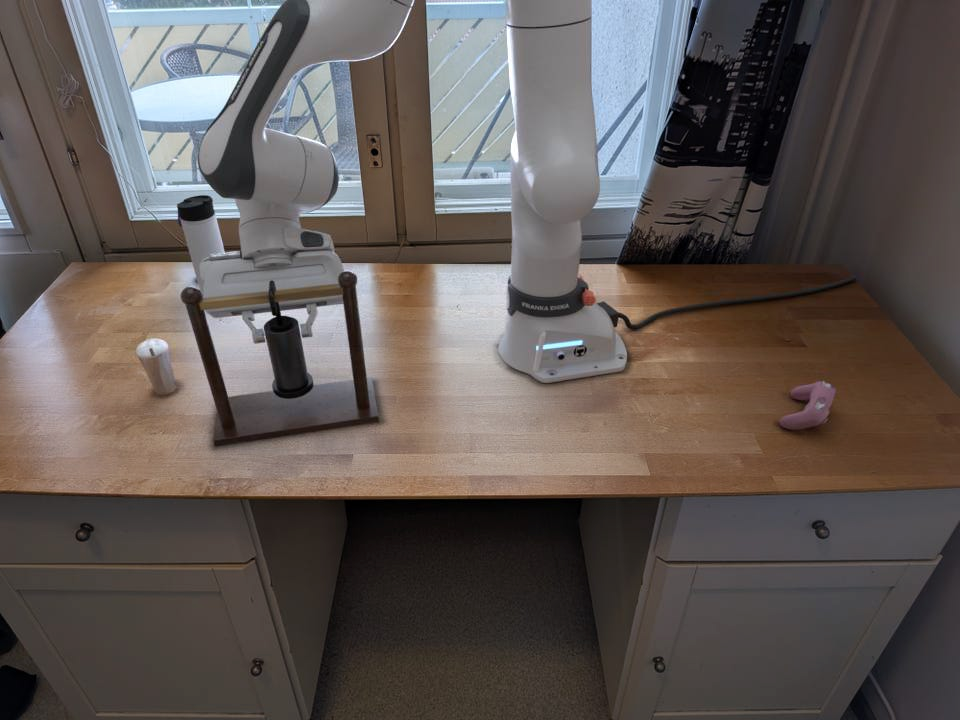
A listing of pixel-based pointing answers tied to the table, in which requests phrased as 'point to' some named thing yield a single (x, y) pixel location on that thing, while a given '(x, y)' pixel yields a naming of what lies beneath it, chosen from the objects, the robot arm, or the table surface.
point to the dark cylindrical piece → (286, 353)
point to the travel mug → (200, 230)
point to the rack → (265, 409)
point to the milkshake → (157, 365)
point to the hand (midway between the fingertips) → (283, 339)
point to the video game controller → (810, 406)
